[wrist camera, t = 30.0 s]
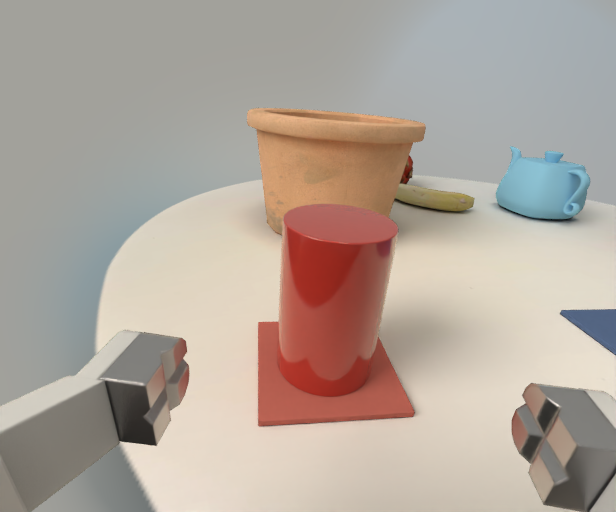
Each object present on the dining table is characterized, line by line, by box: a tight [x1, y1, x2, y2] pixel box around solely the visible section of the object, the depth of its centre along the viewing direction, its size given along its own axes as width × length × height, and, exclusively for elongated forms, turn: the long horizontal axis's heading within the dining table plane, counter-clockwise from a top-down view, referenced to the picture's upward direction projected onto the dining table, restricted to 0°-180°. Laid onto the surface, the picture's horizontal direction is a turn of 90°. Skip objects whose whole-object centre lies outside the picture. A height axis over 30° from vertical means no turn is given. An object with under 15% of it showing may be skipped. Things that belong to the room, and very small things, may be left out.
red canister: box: [277, 204, 399, 397], centre depth 21 cm, size 6×6×10 cm
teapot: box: [496, 146, 590, 219], centre depth 62 cm, size 13×11×18 cm
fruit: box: [395, 184, 474, 211], centre depth 62 cm, size 7×15×3 cm, turn 50°
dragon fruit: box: [400, 156, 413, 184], centre depth 73 cm, size 8×8×12 cm
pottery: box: [247, 108, 425, 235], centre depth 46 cm, size 22×22×14 cm
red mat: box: [258, 322, 415, 426], centre depth 24 cm, size 9×9×1 cm
